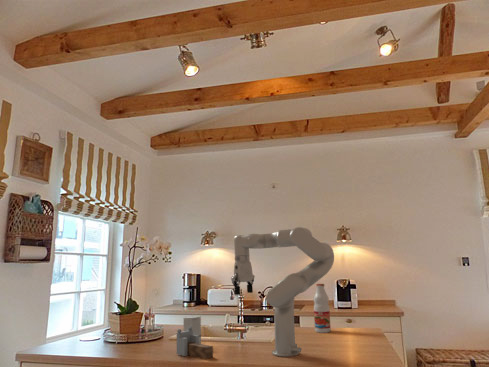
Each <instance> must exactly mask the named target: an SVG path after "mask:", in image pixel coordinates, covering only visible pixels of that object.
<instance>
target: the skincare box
mask: <svg viewBox="0 0 489 367" xmlns="http://www.w3.org/2000/svg"><path fill="white" fill-rule="evenodd" d="M201 318H202V317H201V316H199V315H198V316H195V315H192V316H187V317H186V316H185V317H183V332H184V331H189V330H188V328H189V327H192V330H193V335H198V336H199V344H202V329H201V328H202V322H201V320H202V319H201Z"/></svg>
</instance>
